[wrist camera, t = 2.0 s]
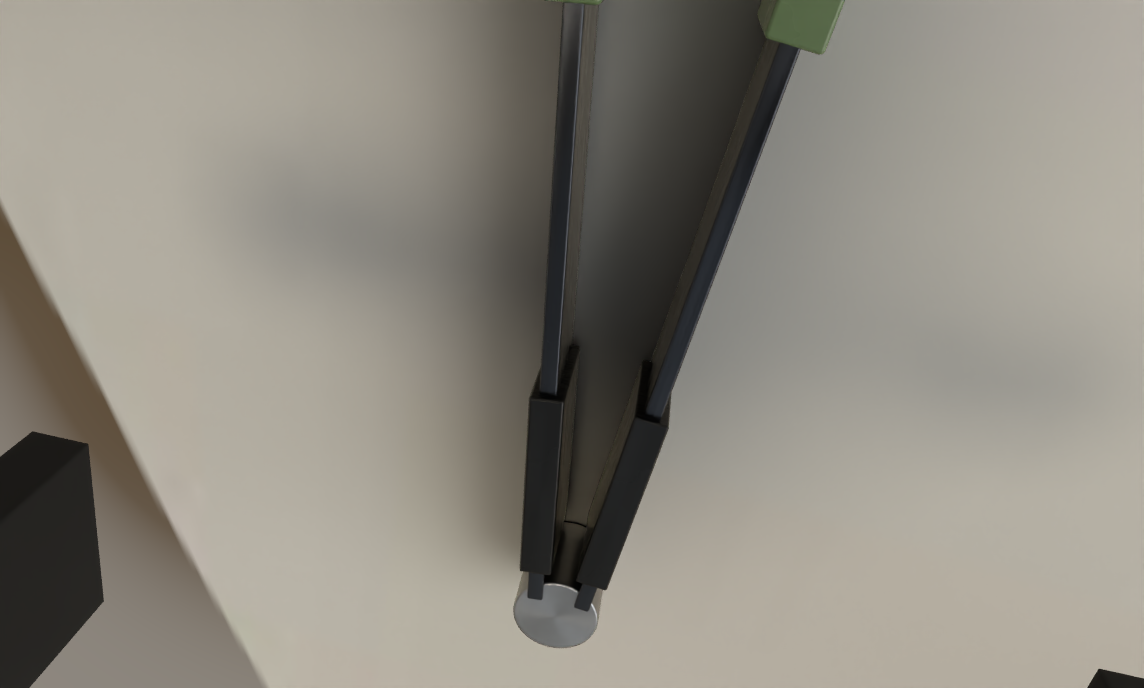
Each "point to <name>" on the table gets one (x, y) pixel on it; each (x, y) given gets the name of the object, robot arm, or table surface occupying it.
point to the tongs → (589, 554)
